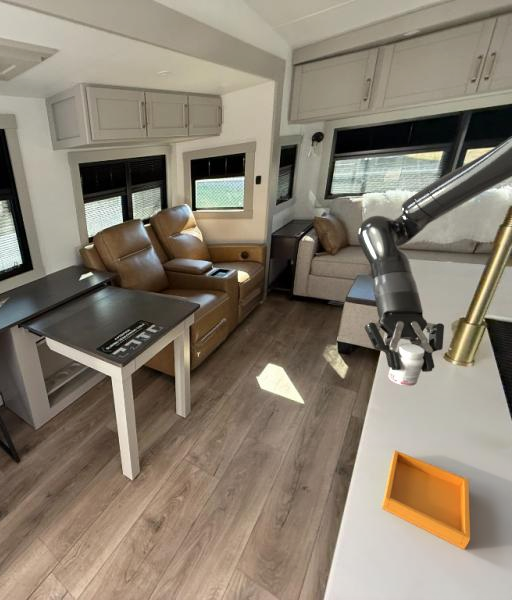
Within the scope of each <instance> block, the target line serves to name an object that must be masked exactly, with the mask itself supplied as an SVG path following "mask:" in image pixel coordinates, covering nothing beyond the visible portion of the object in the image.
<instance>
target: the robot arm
mask: <svg viewBox="0 0 512 600" xmlns="http://www.w3.org/2000/svg"><path fill="white" fill-rule="evenodd" d="M511 178H512V135H511V136H509V137H508V138H507V139H506V140H504V141H503V142H501V143H500V144H498V145H497V146H495V147H494V148H492V149H489V150H488V151H487V152H486V153H484V154H482V155H480V156H479V157H477V158H475V159H473V160H472V161H470V162H467V163H465V164H464V165H461V166H459V167H458V168H455V169H454V170H452V171H450V172H448V173H447V174H445V175H443V176H441V177H440V178H438V179H437V180H435V181H433V182H432V183H430V184H428V185H427V186H425V187H423V188H422V189H421V190H419V191H418V192H416V193H415V194H414V195H411V196H410V197H409V198H407V199H405V201H404V202H403V203H402V204H401V206H400V207H401V212H402V214H401V215H400V216H398V217H396V218H395V219H392V218H390V217H388V216H384V215H372V216H370V217H369V216H368V217H367V218H366V219H365V220H363V221H362V222H361V224H360V225H359V228H358V230H357V239H358V244H359V245H360V247H361V250H362V252H363V254H364V256H365V259H366V260H367V261H368V263H369V265H370V266H369V267H370V271H371V277H372V283H373V284H372V288H373V296H374V300H375V305H376V311H377V315H378V317H379V318H378V321H377V322H369V323H367V324H365V325H364V330H365V332H366V335H367V336H368V338H369V340H370V342H371V344H372V347H373V349H374V350H375V351H380V352H384V354H385V357H386V363H387V366H388V368H391V369H392V370H400V369H401V366H400V361H399V356H398V351H397V350H398V349H397V348H398V345H399V342H400V340H406V341H409V342H410V344H414V345H417V346H419V347H421V348H423V349H424V356H423V359H424V363H423V366H422V369H421V372H424V373H428V372H429V373H430V372H432V371H433V369H435V363H434V362H435V361H434V358H433V353H434V352H437V351H442V350H443V348H444V347H443V346H444V334H445V325H444V323H441V322H438V323H431V322H428V321H427V319H425V317H424V316H423V314H424V313H423V312H424V310H423V307H422V302H421V298H420V293H419V290H418V285H417V283H416V280H415V278H414V275H413V272H412V266H411V263H410V259H409V256H408V255H407V253H405V252H404V251H403V250H402V249H400V248H399V247H402V246H403V245H405V244H407V243H409V242H410V241H411V240H412V239H414V238H415V237H416V236H417V235H418V234H419V233H420V232H422V231H423V230H424V229H426V227H427V226H428V225H430V224H431V223H432V222H434V221H436V220H438V219H439V218H441V217H443V216H445V215H447V214H448V213H451V212H452V211H454V210H455V209H457V208H459V207H461V206H463V204H466V203H468V202H469V201H471V200H472V199H475V198H476V197H478V196H480V195H481V194H483V193H485V192H487V191H488V190H490V189H492V188H494V187H496V186H498V185H500V184H501V183H503V182H505V181H507V180H509V179H511ZM425 329H426V333H428V337H427V336H426V335H425V333H424V331H425ZM381 330H382V331H383V332H384V333H386V335H385V339H383V337H382V335H381V332H380V331H381Z"/></svg>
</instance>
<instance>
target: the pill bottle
mask: <svg viewBox="0 0 512 600" xmlns="http://www.w3.org/2000/svg"><path fill="white" fill-rule="evenodd" d="M397 352H398V356H399V361H400V366H401V369H400V370H392V369H391V367H389V371H388V378H389V380H390V381H392V382H393V383H394V384H397V385H400V386H404V387H412V386H414V385H416V384H417V382H418V379H419V377H420V374H421V372H422V366H423V363H424V359H423V356H424V349H423V348H421V347H419V346H417V345H414V344H412V343H407V342H406V343H405V342H404V343H400V344H399V346H398V349H397Z"/></svg>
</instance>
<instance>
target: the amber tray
mask: <svg viewBox="0 0 512 600" xmlns="http://www.w3.org/2000/svg"><path fill="white" fill-rule="evenodd" d="M381 509H383V510H385V511H386V512H389V513H390V514H392V515H394V516H397V517H398V518H400V519H403V521H404V520H405V521H406V522H408V523H410V524H413V525H414V526H416V527H418V528H420V529H422V530H424V531H425V532H428V533H430V534H432V535H434V536H436V537H438V538H440V539H441V540H444V541H446V542H448V543H450V544H452V545H454V546H456V547H457V548H460V549H462V550H463V551H464V550H466V548H467V546H468V544H469V543H470V541H471V517H470V514H471V513H470V481H469V478H466V477H463V476H461V475H458V474H456V473H454V472H451V471H448V470H447V469H443V468H441V467H438V466H436V465H433V464H432V463H428V462H426V461H423V460H421V459H418V458H416V457H413V456H411V455H408V454H406V453H403V452H401V451H398V450H394V452H393V453H392V457H391V460H390V465H389V470H388V475H387V481H386V485H385V489H384V495H383V500H382V504H381Z"/></svg>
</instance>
